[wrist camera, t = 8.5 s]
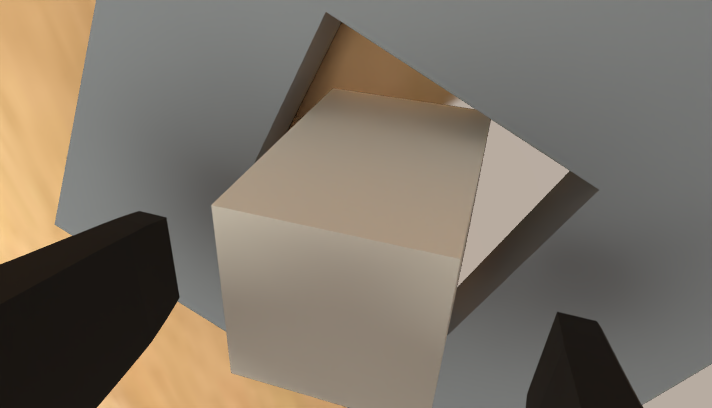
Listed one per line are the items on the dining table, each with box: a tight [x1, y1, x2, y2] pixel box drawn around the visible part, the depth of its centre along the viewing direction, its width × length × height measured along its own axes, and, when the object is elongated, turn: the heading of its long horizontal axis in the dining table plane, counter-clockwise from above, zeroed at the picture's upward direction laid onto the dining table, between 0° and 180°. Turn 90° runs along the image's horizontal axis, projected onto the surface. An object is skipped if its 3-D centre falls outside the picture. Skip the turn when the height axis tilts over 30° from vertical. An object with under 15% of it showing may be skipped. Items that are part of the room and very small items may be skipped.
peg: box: [211, 88, 491, 408], centre depth 11 cm, size 4×4×6 cm
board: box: [55, 0, 712, 408], centre depth 13 cm, size 16×14×2 cm
